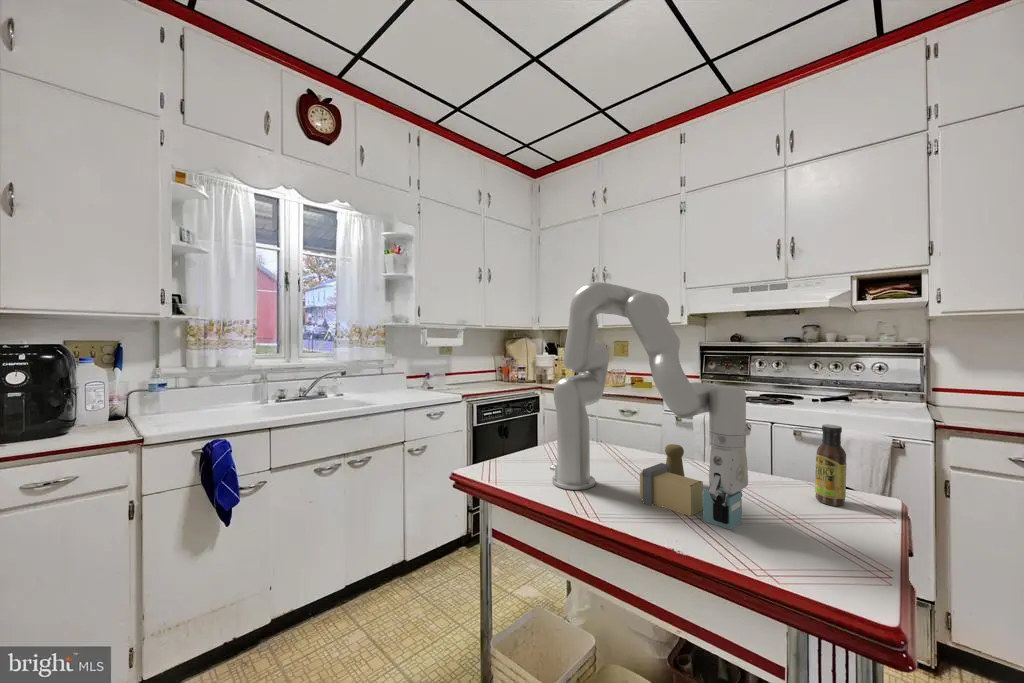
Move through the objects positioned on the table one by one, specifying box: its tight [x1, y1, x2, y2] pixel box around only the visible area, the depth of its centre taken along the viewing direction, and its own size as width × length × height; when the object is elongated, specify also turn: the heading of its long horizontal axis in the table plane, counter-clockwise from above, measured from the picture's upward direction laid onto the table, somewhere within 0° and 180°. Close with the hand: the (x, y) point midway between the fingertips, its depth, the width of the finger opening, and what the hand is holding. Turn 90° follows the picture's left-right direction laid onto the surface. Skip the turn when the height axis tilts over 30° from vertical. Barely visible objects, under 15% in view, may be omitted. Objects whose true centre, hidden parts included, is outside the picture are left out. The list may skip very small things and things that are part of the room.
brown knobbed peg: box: [664, 443, 686, 477], centre depth 124 cm, size 6×6×11 cm
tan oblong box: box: [639, 462, 704, 517], centre depth 108 cm, size 14×9×9 cm, turn 39°
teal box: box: [702, 487, 742, 530], centre depth 98 cm, size 6×6×7 cm
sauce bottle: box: [814, 423, 847, 507], centre depth 108 cm, size 6×6×20 cm
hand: (727, 516), depth 97 cm, fingers closed on teal box, 6 cm apart
